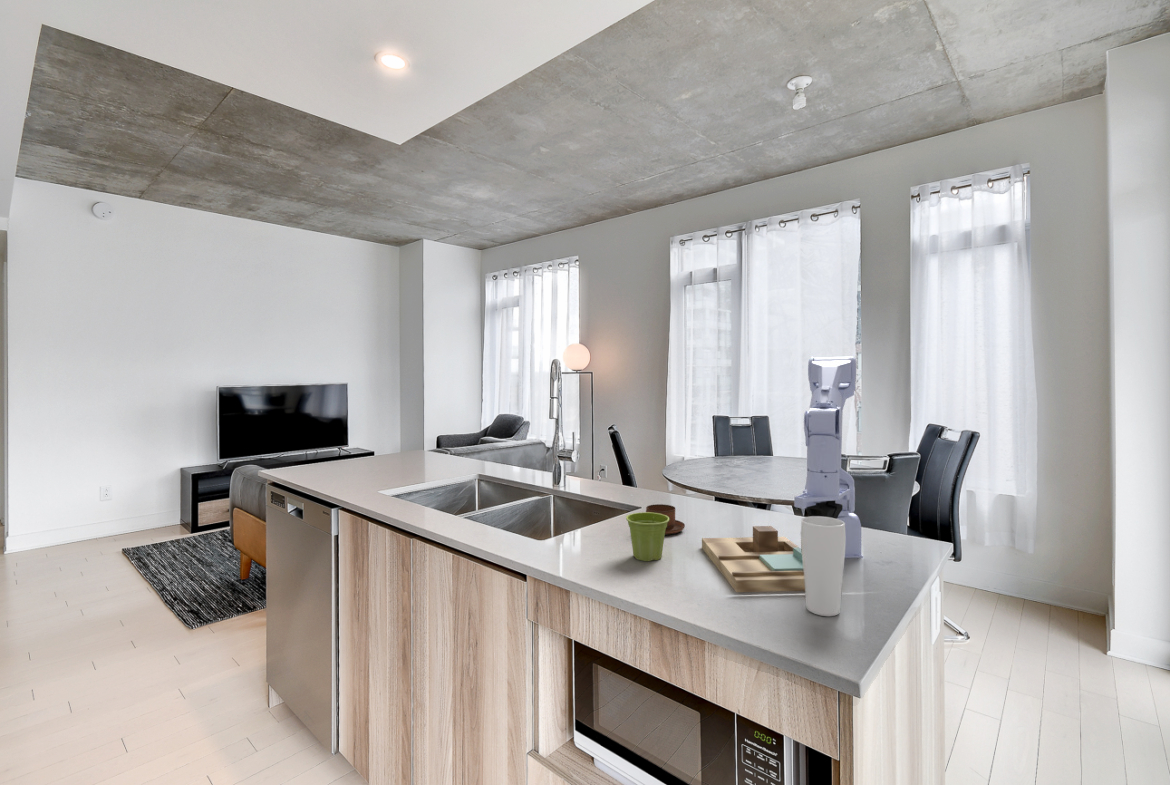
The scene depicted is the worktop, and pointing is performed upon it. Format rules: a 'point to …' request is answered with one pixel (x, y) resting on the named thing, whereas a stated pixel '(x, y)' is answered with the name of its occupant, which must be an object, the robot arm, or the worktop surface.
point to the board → (751, 565)
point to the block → (765, 539)
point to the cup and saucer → (669, 511)
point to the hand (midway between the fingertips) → (822, 540)
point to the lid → (784, 561)
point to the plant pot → (647, 534)
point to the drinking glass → (823, 563)
